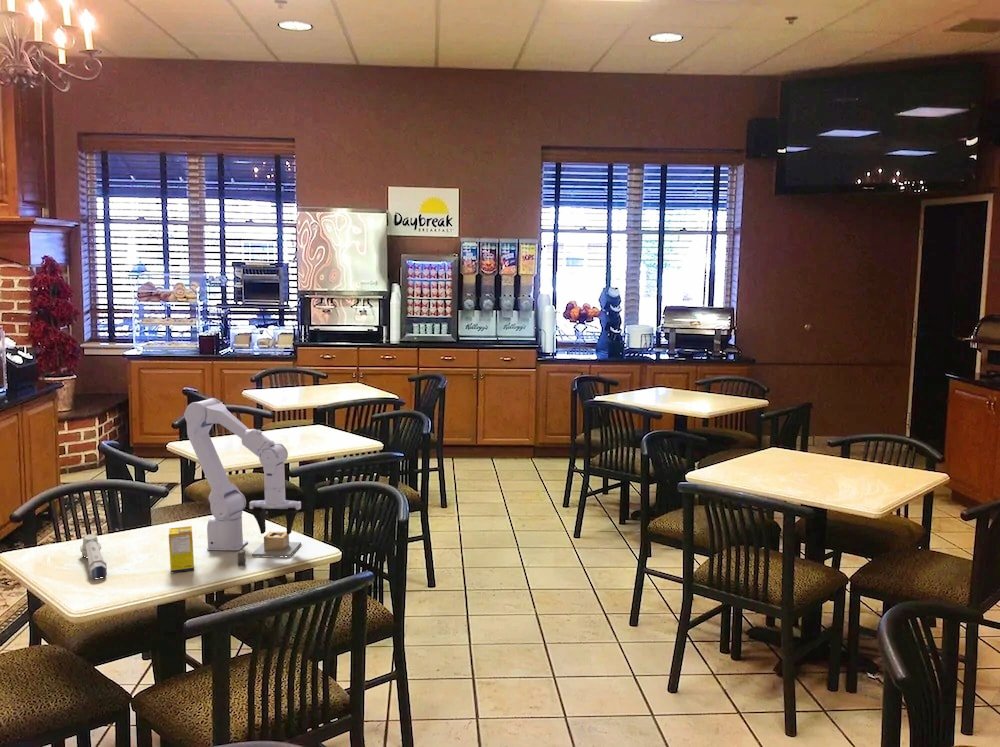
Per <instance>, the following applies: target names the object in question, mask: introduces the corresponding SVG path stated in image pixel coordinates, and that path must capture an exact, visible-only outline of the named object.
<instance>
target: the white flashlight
mask: <svg viewBox="0 0 1000 747" xmlns="http://www.w3.org/2000/svg"><path fill="white" fill-rule="evenodd" d="M79 549H80V552H81V557H82V556H85V557H88V559H87V561H88V566H87V569H88V574H90V578H91V579H93V580H95V579H94V578H100V577H104V578H106V576H108V575H107V574H108V573H107V572H108V571H107V562H106V561H104V558H103V555H102V552H101V549H102V545H101V543H100V542H99V541H98V536H97V535H96V534H94V533H93V534H92V533H90V534H86V535H85V536H84V537H83V539H82V545H80V547H79Z"/></svg>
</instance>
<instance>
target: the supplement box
mask: <svg viewBox="0 0 1000 747" xmlns="http://www.w3.org/2000/svg"><path fill="white" fill-rule="evenodd" d="M193 541H194V539H193V528H192V525H188V526H182V527H181V526H180V527H170V528H168V544H169V547H168V548H169V549H168V550H169V563H170V564H169V565H170V573H171V572H176V573H182V572H181V571H183V572H190V571H189V570H191V571H194V570H195V563H194V562H195V561H194V560H195V559H194V543H193Z"/></svg>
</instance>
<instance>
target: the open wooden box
mask: <svg viewBox="0 0 1000 747" xmlns="http://www.w3.org/2000/svg"><path fill="white" fill-rule="evenodd" d="M275 535H280V536H275ZM289 542H290V534H287V531H269V532H267V534H266V535H265V536H264V537H263V543H264V551H284V550H285V549H286V548H287V547H288V546H289Z"/></svg>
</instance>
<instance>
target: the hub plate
mask: <svg viewBox="0 0 1000 747" xmlns="http://www.w3.org/2000/svg"><path fill="white" fill-rule="evenodd" d="M275 536H280V535H275ZM300 545H301V546H302V541H300V542H299V541H296V542H295V541H289V546H288V547H287V548H286V549H285V550H284V551H264V542H263V543H262V544H260V545H259V547H257V548H256V549H255V550H254V551H253V552H251V557H252V556H261V557H260V558H263V557H262V556H273V557H272V558H281V557H280V556H283V557H282V558H291V557H292V556H293V554H294V553H295V552H296V551H297V550H298V549H299V548H300V547H301V546H300ZM299 546H300V547H299ZM298 547H299V548H298ZM297 548H298V549H297ZM296 549H297V550H296ZM295 550H296V551H295ZM294 551H295V552H294ZM292 553H293V554H292ZM285 556H287V557H285ZM290 556H291V557H290Z"/></svg>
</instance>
